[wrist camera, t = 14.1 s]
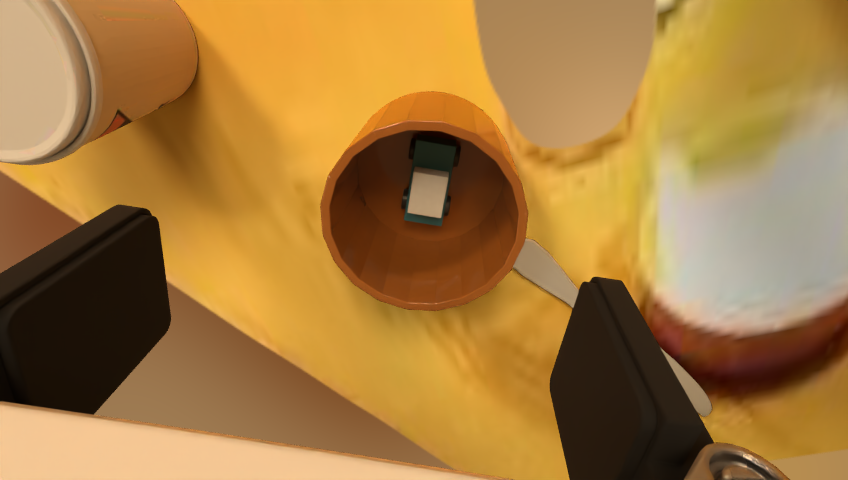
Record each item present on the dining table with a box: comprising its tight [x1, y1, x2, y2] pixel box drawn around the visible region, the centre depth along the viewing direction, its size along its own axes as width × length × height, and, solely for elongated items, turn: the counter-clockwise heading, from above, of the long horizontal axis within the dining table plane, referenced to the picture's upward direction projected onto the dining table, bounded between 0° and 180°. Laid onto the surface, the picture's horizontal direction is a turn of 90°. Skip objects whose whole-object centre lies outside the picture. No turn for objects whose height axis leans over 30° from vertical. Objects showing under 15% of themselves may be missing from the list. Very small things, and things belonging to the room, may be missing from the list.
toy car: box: [401, 134, 461, 226], centre depth 32 cm, size 6×3×3 cm, turn 171°
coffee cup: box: [0, 0, 198, 165], centre depth 26 cm, size 9×9×12 cm
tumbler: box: [320, 92, 528, 311], centre depth 30 cm, size 11×11×9 cm
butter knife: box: [513, 239, 712, 417], centre depth 38 cm, size 1×24×3 cm
